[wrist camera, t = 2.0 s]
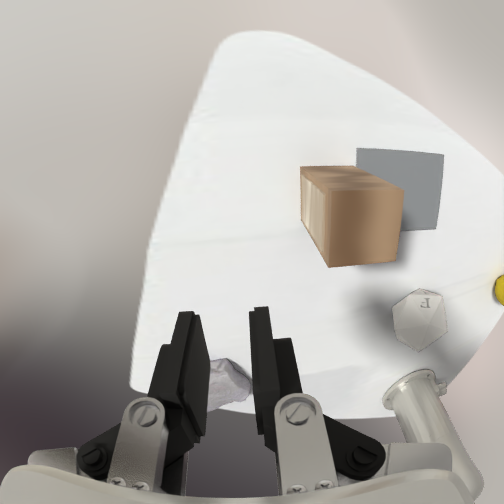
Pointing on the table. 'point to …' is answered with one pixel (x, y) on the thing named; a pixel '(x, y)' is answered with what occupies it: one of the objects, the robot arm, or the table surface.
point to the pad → (409, 182)
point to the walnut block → (351, 214)
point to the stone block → (226, 384)
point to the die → (419, 319)
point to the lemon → (500, 289)
